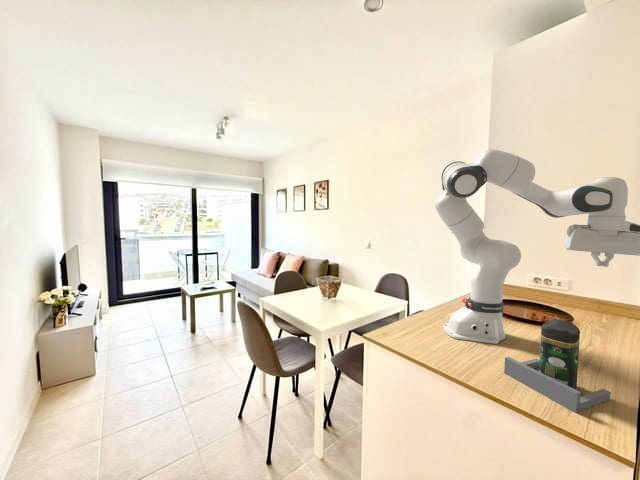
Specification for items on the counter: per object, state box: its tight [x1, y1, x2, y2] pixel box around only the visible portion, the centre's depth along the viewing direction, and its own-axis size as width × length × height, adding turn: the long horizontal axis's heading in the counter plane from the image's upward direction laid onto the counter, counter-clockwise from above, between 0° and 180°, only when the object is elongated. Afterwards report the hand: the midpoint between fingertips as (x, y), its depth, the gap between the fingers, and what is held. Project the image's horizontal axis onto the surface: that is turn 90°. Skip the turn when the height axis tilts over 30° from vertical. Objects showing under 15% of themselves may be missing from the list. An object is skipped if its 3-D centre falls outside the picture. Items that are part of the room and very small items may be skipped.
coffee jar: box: [538, 318, 581, 390], centre depth 75 cm, size 10×8×19 cm
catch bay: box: [503, 356, 612, 414], centre depth 76 cm, size 14×18×5 cm
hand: (601, 266), depth 92 cm, fingers closed
